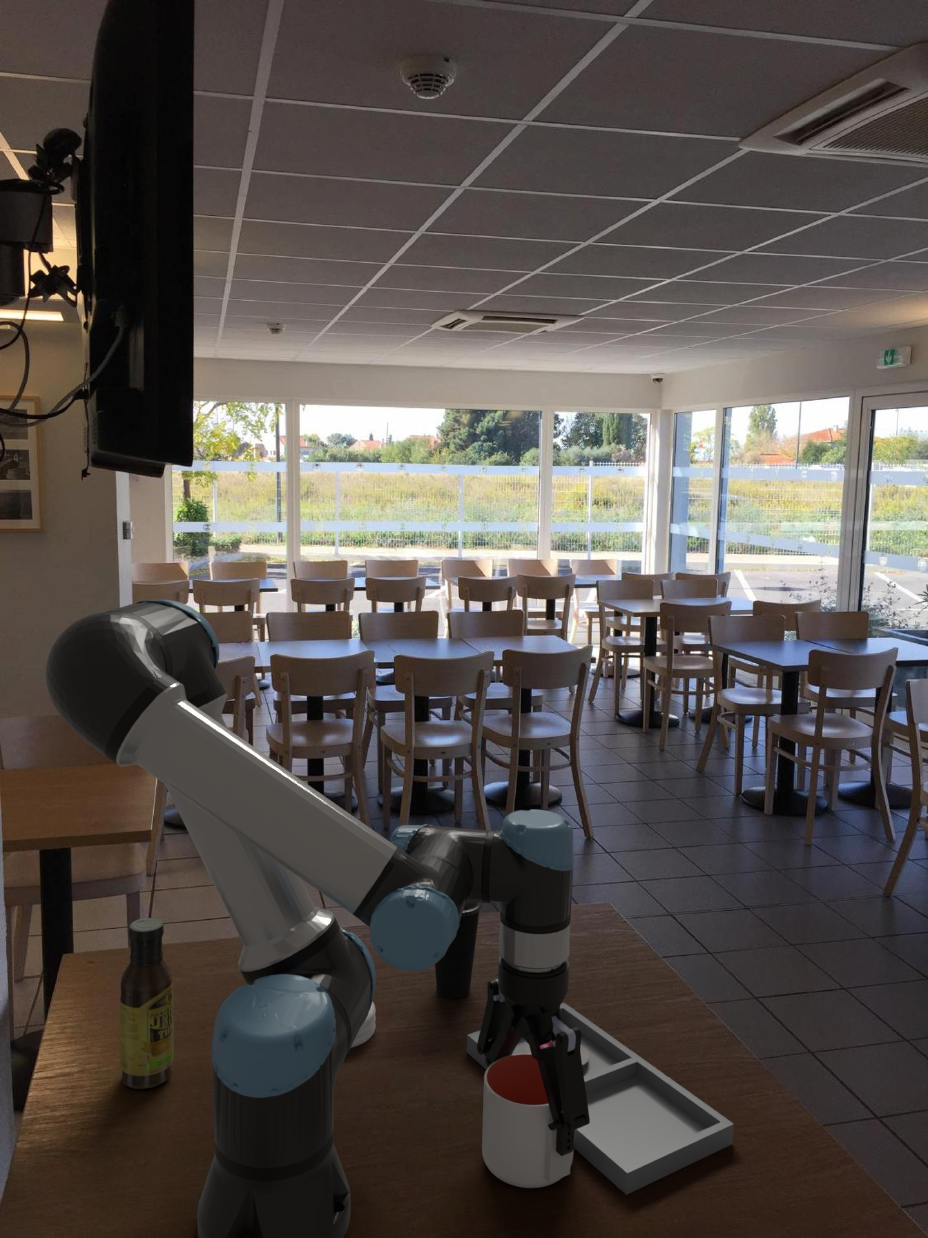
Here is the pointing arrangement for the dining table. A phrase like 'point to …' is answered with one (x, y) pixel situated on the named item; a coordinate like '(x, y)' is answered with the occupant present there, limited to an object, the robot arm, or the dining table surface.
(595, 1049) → the carrier tray
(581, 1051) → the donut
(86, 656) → the robot arm
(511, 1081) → the cup
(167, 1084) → the dining table surface
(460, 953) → the drinking cup
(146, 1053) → the sauce bottle
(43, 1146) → the dining table surface
